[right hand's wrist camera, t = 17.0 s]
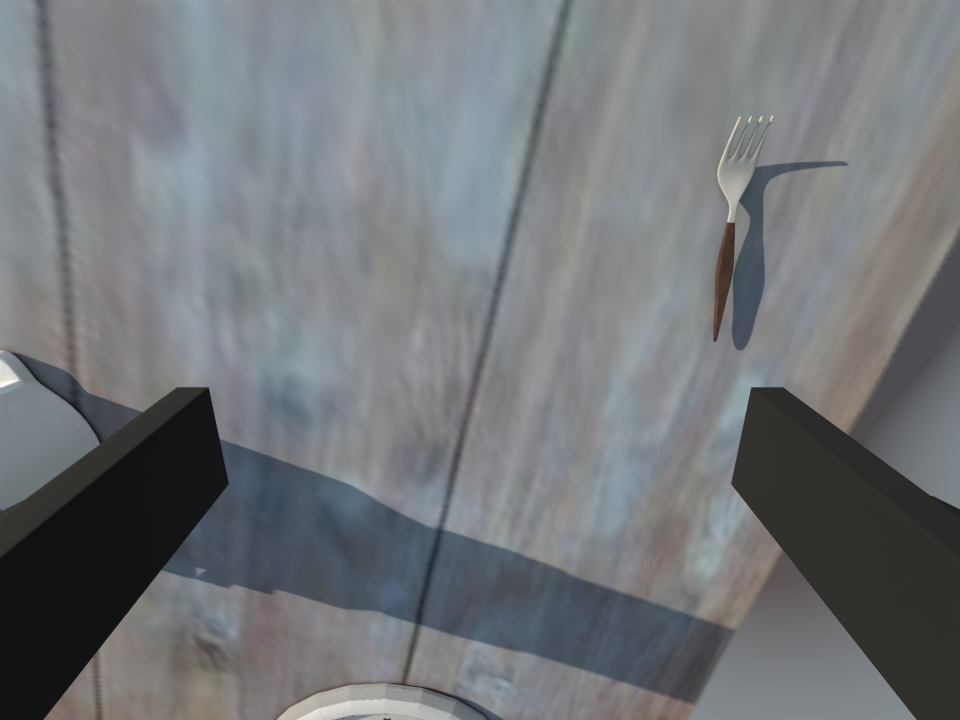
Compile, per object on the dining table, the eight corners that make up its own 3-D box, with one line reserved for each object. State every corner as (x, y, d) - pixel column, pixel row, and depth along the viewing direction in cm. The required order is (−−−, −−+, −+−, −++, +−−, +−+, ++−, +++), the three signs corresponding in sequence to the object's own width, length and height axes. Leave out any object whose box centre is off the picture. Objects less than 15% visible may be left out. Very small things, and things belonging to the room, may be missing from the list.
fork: (695, 339, 41) (705, 348, 39) (723, 119, 35) (737, 116, 33) (728, 338, 41) (740, 347, 39) (761, 117, 35) (777, 115, 33)
